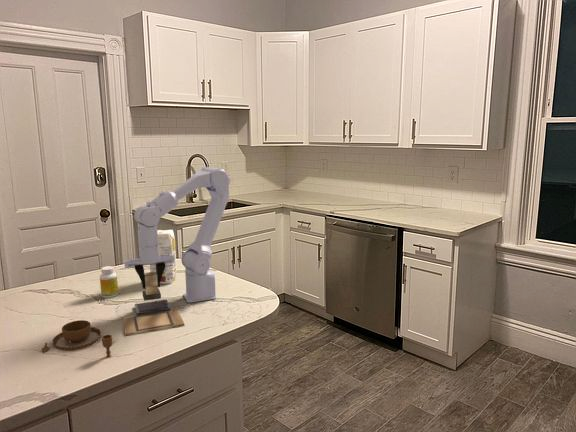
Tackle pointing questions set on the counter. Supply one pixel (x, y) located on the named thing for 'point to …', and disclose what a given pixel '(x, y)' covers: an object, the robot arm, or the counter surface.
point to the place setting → (80, 337)
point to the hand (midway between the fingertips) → (151, 287)
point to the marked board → (152, 322)
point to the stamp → (151, 287)
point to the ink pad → (152, 307)
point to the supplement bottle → (108, 282)
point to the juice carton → (166, 249)
